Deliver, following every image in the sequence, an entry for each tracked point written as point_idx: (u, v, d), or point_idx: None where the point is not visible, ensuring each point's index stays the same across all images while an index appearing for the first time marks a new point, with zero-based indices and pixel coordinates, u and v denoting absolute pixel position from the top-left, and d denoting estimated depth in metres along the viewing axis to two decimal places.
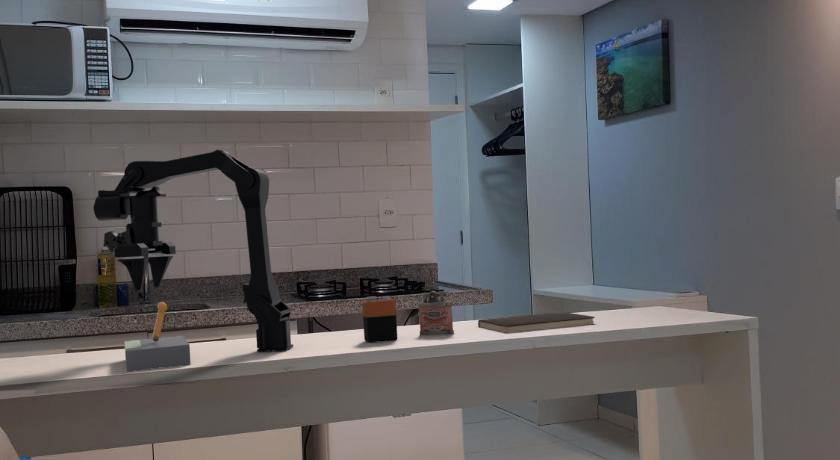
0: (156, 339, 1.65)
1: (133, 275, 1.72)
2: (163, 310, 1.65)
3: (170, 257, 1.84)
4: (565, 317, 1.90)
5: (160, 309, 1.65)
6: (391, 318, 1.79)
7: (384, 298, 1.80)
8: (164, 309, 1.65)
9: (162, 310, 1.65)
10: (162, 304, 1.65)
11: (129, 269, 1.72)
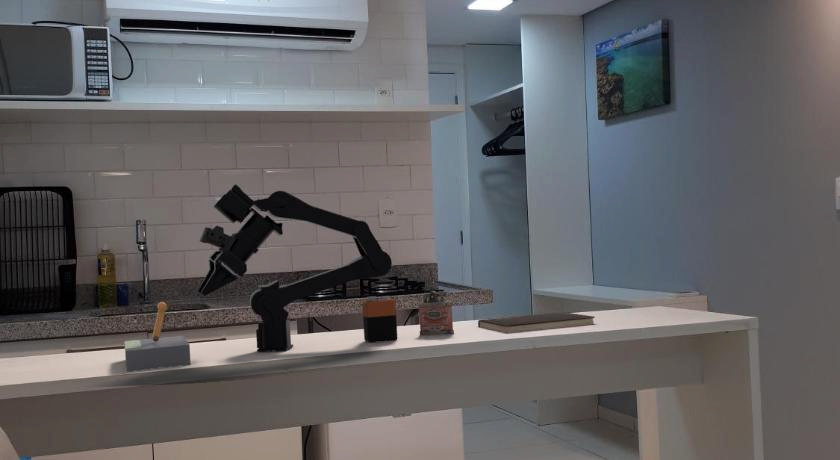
0: (156, 339, 1.65)
1: (212, 281, 1.66)
2: (163, 310, 1.65)
3: None
4: (565, 317, 1.90)
5: (160, 309, 1.65)
6: (391, 318, 1.79)
7: (384, 298, 1.80)
8: (164, 309, 1.65)
9: (162, 310, 1.65)
10: (162, 304, 1.65)
11: (215, 274, 1.65)
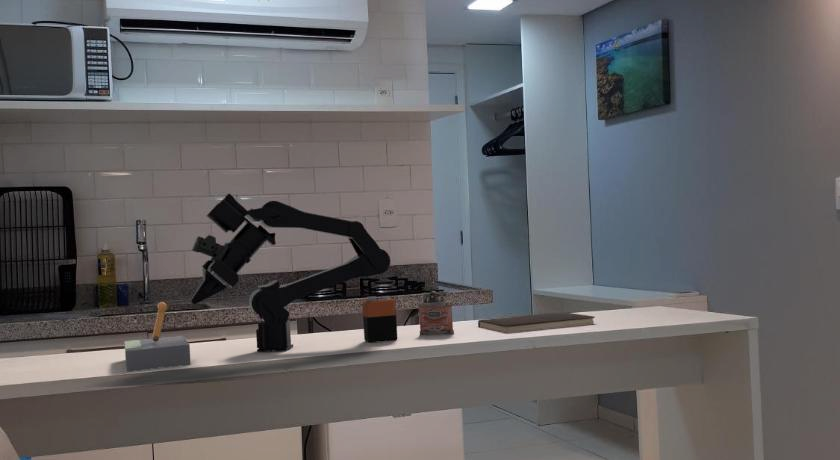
0: (156, 339, 1.65)
1: (202, 290, 1.68)
2: (163, 310, 1.65)
3: None
4: (565, 317, 1.90)
5: (160, 309, 1.65)
6: (391, 318, 1.79)
7: (384, 298, 1.80)
8: (164, 309, 1.65)
9: (162, 310, 1.65)
10: (162, 304, 1.65)
11: (205, 283, 1.68)
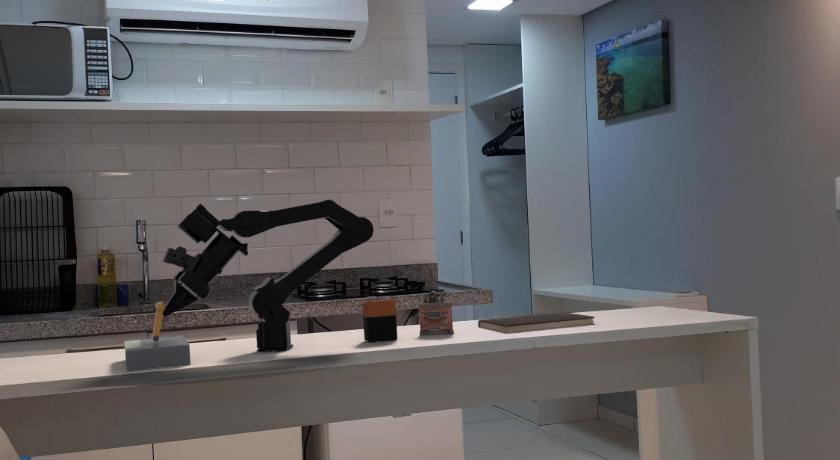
0: (156, 339, 1.65)
1: (172, 301, 1.66)
2: (161, 310, 1.65)
3: None
4: (565, 317, 1.90)
5: (158, 309, 1.65)
6: (391, 318, 1.79)
7: (384, 298, 1.80)
8: (162, 309, 1.65)
9: (160, 310, 1.65)
10: (160, 304, 1.65)
11: (176, 295, 1.66)
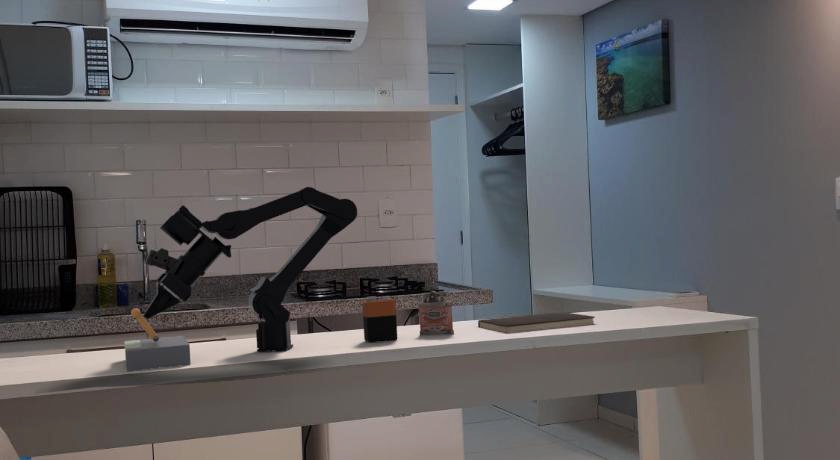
0: (156, 338, 1.65)
1: (155, 304, 1.65)
2: (138, 315, 1.63)
3: None
4: (565, 317, 1.90)
5: (135, 316, 1.63)
6: (391, 318, 1.79)
7: (384, 298, 1.80)
8: (138, 313, 1.63)
9: (138, 316, 1.63)
10: (133, 312, 1.63)
11: (158, 297, 1.65)
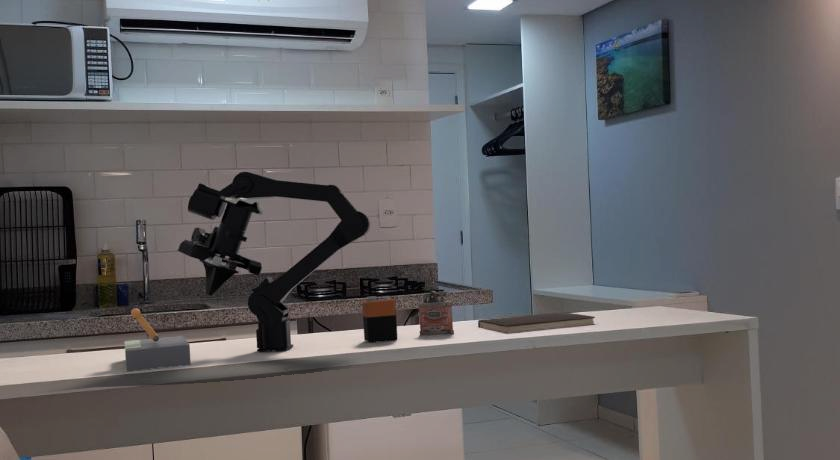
0: (156, 338, 1.65)
1: (207, 279, 1.73)
2: (138, 315, 1.63)
3: (232, 271, 1.74)
4: (565, 317, 1.90)
5: (135, 316, 1.63)
6: (391, 318, 1.79)
7: (384, 298, 1.80)
8: (138, 314, 1.63)
9: (138, 316, 1.63)
10: (133, 312, 1.63)
11: (206, 272, 1.74)
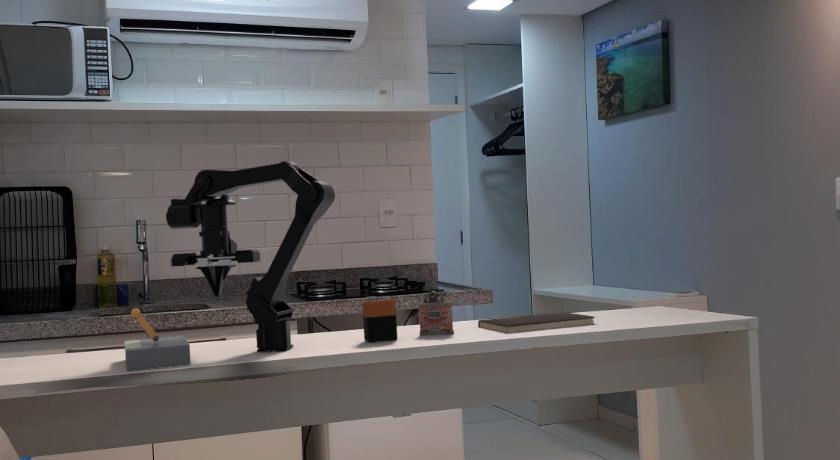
0: (156, 338, 1.65)
1: None
2: (138, 315, 1.63)
3: (219, 267, 1.75)
4: (565, 317, 1.90)
5: (135, 316, 1.63)
6: (391, 318, 1.79)
7: (384, 298, 1.80)
8: (138, 314, 1.63)
9: (138, 316, 1.63)
10: (133, 312, 1.63)
11: None
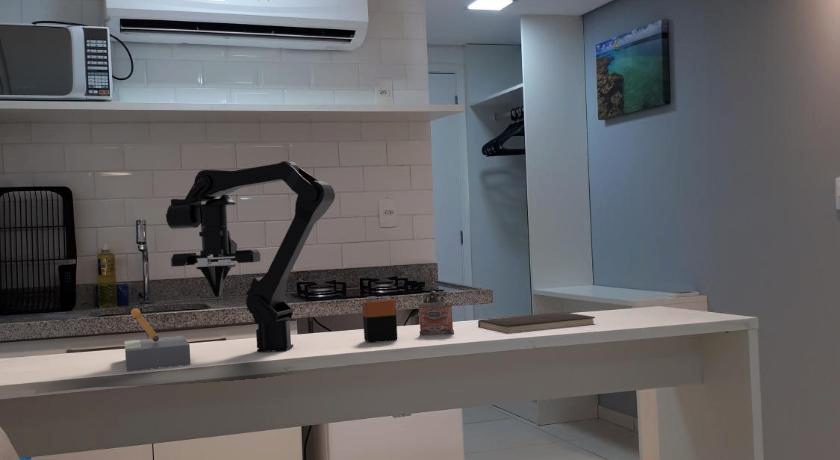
0: (156, 338, 1.65)
1: None
2: (138, 315, 1.63)
3: (219, 267, 1.75)
4: (565, 317, 1.90)
5: (135, 316, 1.63)
6: (391, 318, 1.79)
7: (384, 298, 1.80)
8: (138, 314, 1.63)
9: (138, 316, 1.63)
10: (133, 312, 1.63)
11: None
